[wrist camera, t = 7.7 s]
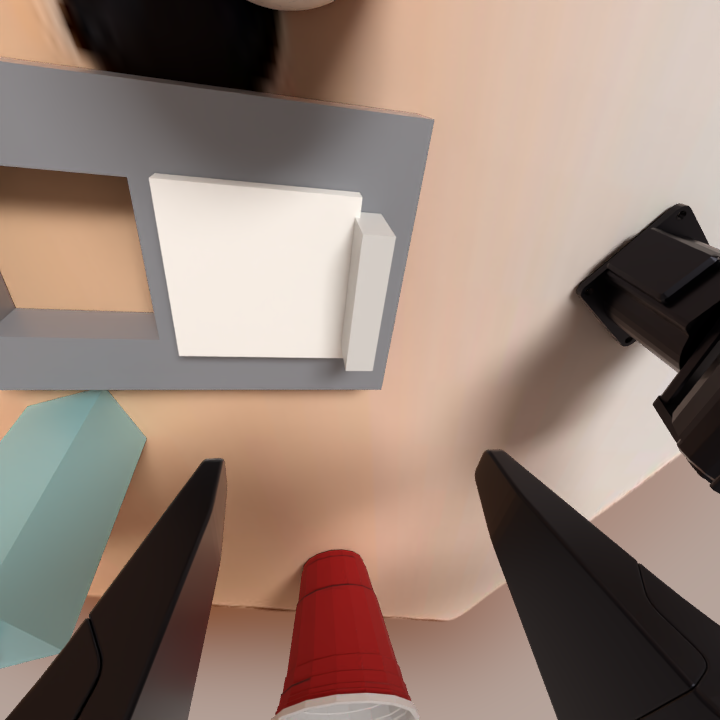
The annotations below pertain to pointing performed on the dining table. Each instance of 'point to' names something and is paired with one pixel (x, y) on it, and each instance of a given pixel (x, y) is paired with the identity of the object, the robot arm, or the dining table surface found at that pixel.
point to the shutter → (272, 269)
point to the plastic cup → (341, 649)
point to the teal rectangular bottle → (58, 514)
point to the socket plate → (197, 159)
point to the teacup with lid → (291, 4)
